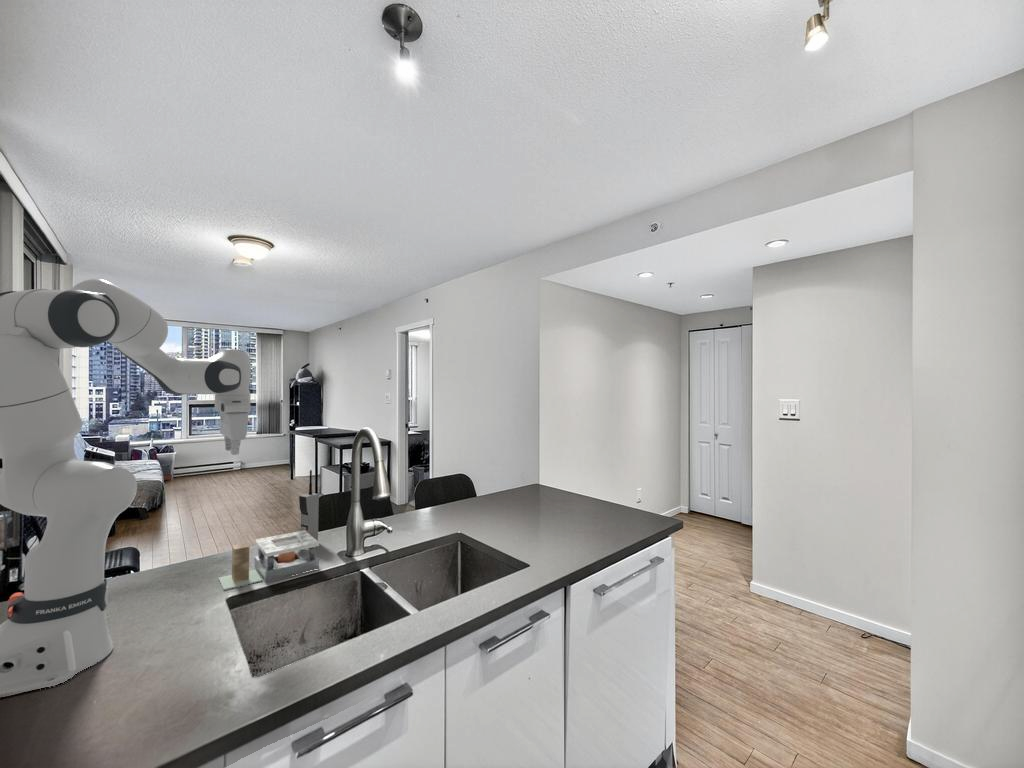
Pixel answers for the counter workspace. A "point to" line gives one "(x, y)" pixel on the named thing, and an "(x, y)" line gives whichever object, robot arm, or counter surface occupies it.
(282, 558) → the breaker button
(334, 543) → the counter surface
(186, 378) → the robot arm
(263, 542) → the grey box with top
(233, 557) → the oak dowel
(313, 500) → the vintage mobile phone
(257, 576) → the sage mat
